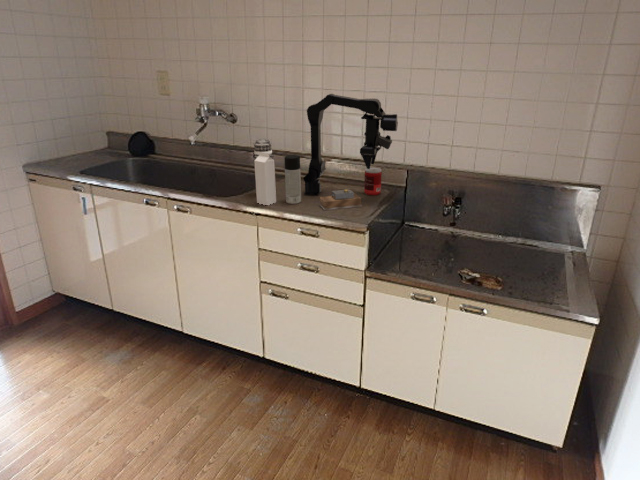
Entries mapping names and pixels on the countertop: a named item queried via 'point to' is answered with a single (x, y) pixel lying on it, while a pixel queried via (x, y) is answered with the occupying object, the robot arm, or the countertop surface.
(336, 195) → the lever cap
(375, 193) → the canned food
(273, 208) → the countertop surface
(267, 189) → the milk
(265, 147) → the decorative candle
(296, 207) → the countertop surface
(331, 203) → the body
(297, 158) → the spray can
